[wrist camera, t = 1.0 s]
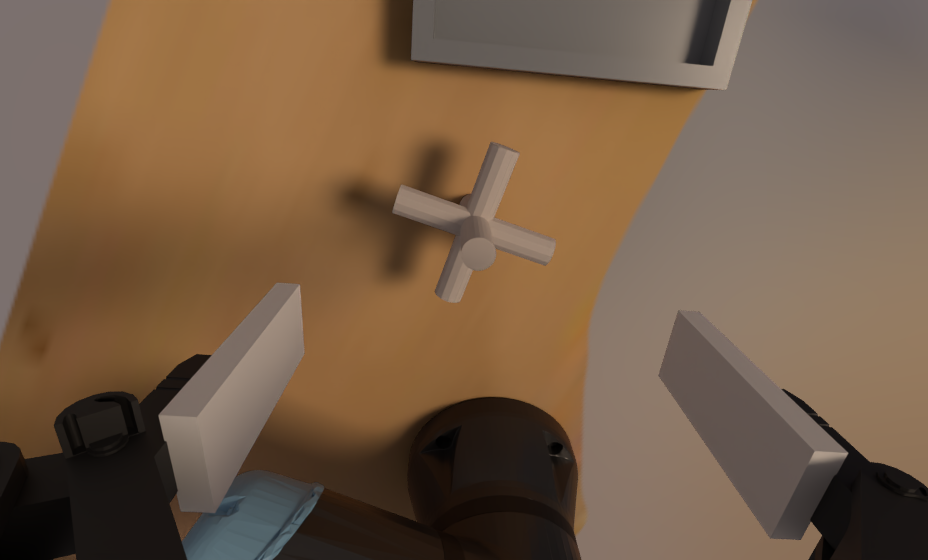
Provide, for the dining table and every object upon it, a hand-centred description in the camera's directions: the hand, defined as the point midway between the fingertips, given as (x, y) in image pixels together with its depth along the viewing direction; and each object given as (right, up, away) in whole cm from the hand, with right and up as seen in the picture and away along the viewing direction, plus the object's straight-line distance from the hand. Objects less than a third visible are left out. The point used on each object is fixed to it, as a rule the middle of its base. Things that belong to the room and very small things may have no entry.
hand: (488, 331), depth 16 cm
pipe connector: (0, +7, +17) cm, 18 cm away
